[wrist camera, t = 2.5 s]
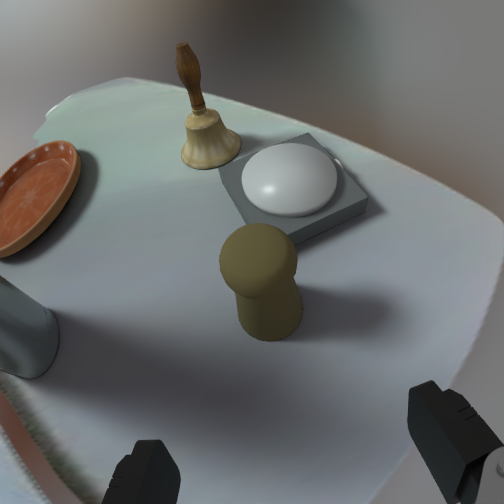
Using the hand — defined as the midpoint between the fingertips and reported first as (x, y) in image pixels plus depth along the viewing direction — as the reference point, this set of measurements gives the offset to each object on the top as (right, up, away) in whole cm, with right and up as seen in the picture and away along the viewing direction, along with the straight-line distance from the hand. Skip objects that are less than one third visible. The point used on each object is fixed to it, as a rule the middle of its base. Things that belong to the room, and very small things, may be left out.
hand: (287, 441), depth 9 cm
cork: (+1, 0, +21) cm, 21 cm away
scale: (+3, +12, +27) cm, 30 cm away
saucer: (-37, +14, +35) cm, 53 cm away
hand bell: (-7, +20, +34) cm, 40 cm away
